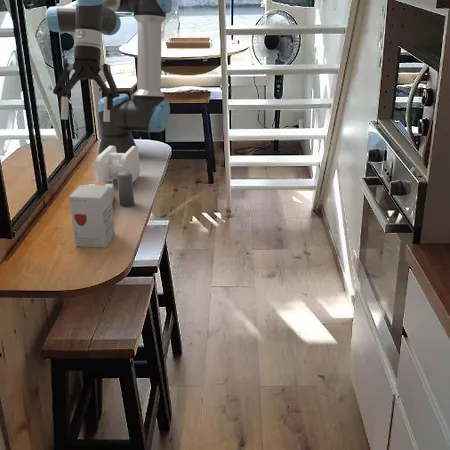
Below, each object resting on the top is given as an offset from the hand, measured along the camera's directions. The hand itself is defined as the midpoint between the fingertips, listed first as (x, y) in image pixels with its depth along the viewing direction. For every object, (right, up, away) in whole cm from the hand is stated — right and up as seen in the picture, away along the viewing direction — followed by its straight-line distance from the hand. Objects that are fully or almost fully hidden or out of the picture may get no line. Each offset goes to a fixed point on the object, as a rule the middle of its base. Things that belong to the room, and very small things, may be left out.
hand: (85, 120), depth 179 cm
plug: (+10, -24, +14) cm, 30 cm away
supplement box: (+5, -35, -9) cm, 37 cm away
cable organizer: (+5, -16, +31) cm, 36 cm away
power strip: (+1, -25, +11) cm, 28 cm away
